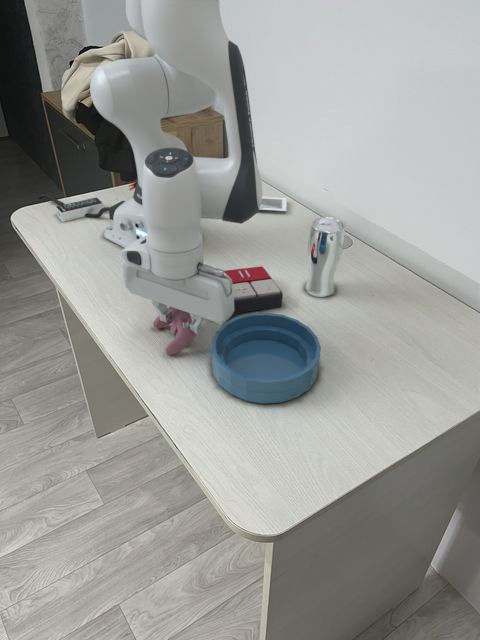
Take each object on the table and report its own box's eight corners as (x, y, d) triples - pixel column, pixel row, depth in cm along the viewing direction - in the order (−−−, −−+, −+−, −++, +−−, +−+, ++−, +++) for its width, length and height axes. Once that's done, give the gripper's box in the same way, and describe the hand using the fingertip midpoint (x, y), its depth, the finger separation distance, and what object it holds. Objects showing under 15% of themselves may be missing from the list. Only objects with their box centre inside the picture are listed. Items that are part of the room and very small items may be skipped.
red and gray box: (284, 291, 107) (211, 301, 101) (281, 309, 109) (210, 319, 104) (264, 263, 114) (195, 271, 109) (262, 281, 117) (195, 289, 112)
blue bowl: (191, 379, 91) (190, 356, 88) (245, 323, 104) (245, 301, 101) (289, 419, 85) (291, 397, 82) (333, 354, 98) (336, 333, 95)
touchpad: (231, 198, 147) (231, 191, 145) (286, 201, 147) (286, 194, 145) (228, 211, 141) (228, 203, 139) (286, 214, 141) (286, 207, 139)
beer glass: (334, 300, 111) (344, 235, 102) (301, 295, 112) (308, 230, 103) (337, 282, 117) (347, 218, 107) (305, 278, 117) (313, 214, 108)
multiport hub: (105, 211, 138) (103, 203, 136) (62, 221, 132) (60, 213, 131) (98, 205, 140) (96, 196, 139) (56, 214, 135) (54, 206, 134)
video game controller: (187, 360, 97) (203, 329, 94) (164, 356, 95) (180, 324, 92) (172, 329, 104) (187, 299, 101) (150, 324, 102) (165, 293, 99)
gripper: (241, 264, 86) (240, 333, 94) (137, 233, 92) (145, 300, 101) (221, 282, 81) (222, 353, 90) (113, 248, 88) (123, 317, 97)
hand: (180, 325), depth 95 cm, fingers closed on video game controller, 5 cm apart
